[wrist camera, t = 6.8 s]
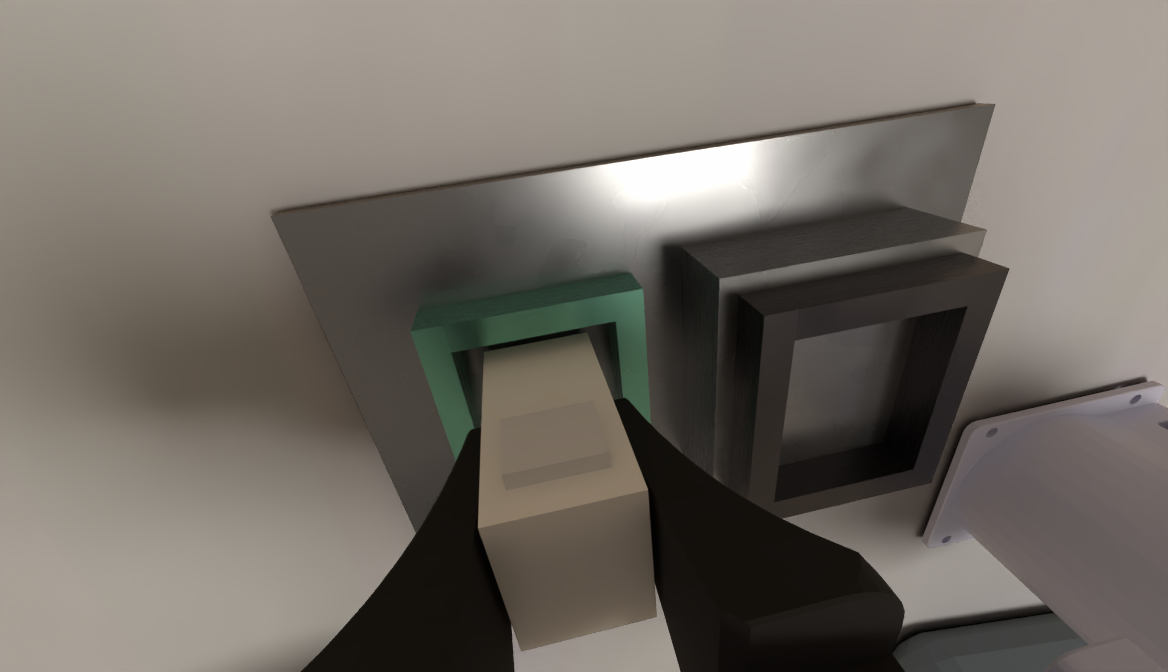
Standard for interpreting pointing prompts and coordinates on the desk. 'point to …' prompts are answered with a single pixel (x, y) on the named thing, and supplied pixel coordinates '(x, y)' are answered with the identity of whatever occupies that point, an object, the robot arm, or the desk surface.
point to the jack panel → (682, 301)
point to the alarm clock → (990, 646)
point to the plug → (561, 495)
